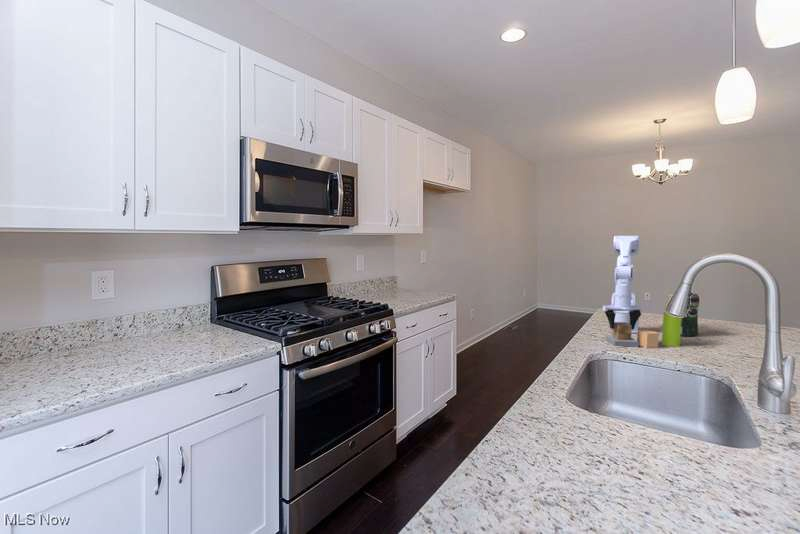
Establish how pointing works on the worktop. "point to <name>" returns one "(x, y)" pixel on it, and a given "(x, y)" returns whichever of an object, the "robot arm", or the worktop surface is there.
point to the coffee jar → (691, 318)
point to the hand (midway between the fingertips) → (621, 328)
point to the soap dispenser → (671, 330)
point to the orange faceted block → (648, 338)
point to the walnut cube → (622, 331)
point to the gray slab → (621, 342)
